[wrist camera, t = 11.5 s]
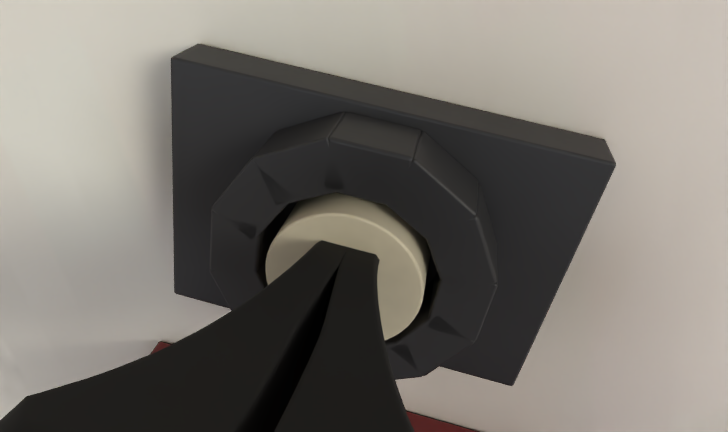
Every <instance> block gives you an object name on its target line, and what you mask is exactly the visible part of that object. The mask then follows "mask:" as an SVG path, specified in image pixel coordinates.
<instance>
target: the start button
mask: <svg viewBox="0 0 728 432" xmlns="http://www.w3.org/2000/svg"><path fill="white" fill-rule="evenodd" d="M321 240H323V241H327V242H331V243H334V244H338V245H342V246H346V247H350V248H354V249H357V250H361V251H365V252H369V253H373V254H376V255H377V257H378V258H379V260H380V261H379V265H378V274H377V288H378V302H379V310H380V317H381V324H382V330H383V335H384V340H387V339H389V338H392V337H394V336H396V335H397V334H399V333H400V332H402V331H403V330H404V329H405V328H406V327H408V326H409V325H410V323H411V322H412V321H413V320H414V319H415V317H416V315H417V314H418V312H419V310H420V307H421V305H422V301H423V296H424V290H425V284H426V278H427V272H428V266H429V261H430V255H431V252H430V249H429V246H428V243H427V241H426V239H425V238H424V237H423V236H422V235H420V234H419V233H418V232H417V231H416V230H415V229H413V228H412V227H411V226H410V225H409V224H408V223H406V222H405V221H404V220H403V219H402V218H401V217H399V216H398V215H397V214H396V213H395V212H394V211H392V210H391V209H390V208H389V207H388V206H387V205H384V204H380V203H376V202H372V201H368V200H364V199H360V198H356V197H352V196H348V195H344V194H340V193H336V192H335V193H331V194H326V195H322V196H318V197H314V198H310V199H305V200H301V201H298V202H297V203H296V205H295V207H294V208H293V210H292V211H291V213H290V214H289V216H288V218H287V219H286V221H285V222H284V224H283V226H282V227H281V229H280V230H279V232H278V233H277V235H276V237H275V238H274V240H273V242H272V243H271V245H270V247H269V250H268V253H267V258H266V278H267V283H268V285H269V284H270V283H271V282H273V281H274V280H275V279H276V278H278V277H279V276H280V275H281V274H283V273H284V272H285V271H286V270H288V269H289V268H290V267H291V266H292V265H293V264H295V263H296V262H297V261H298V260H299V259H300V258H301V257H302V256H303V255H305V254H306V253H307V252H308V251H309V250H310V249H311V248H312V247H313V246H314V245H315V244H316V243H317V242H319V241H321Z"/></svg>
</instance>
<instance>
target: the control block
mask: <svg viewBox="0 0 728 432" xmlns="http://www.w3.org/2000/svg"><path fill="white" fill-rule="evenodd" d="M171 96H172V162H173V228H174V292H175V293H176V294H179V295H183V296H187V297H190V298H194V299H198V300H201V301H205V302H208V303H212V304H216V305H219V306H223V307H227V308H230V309H231V311H232V310H234V309H235V308H237V307H238V306H240V305H241V304H243V303H244V302H246V301H247V300H248V299H250V298H251V297H253V296H254V295H256V294H257V293H258V292H260V291H261V290H262V289H264V288H265V287H266V286H268V283H267V278H266V258H267V253H268V250H269V247H270V245H271V243H272V242H273V240H274V238H275V237H276V235H277V233H278V232H279V230H280V229H281V227H282V226H283V224H284V222H285V221H286V219H287V218H288V216H289V214H290V213H291V211H292V210H293V208H294V207H295V205H296V203H297V202H298V201H301V200H305V199H310V198H314V197H318V196H322V195H326V194H331V193H335V192H336V193H340V194H344V195H348V196H352V197H356V198H360V199H364V200H368V201H372V202H376V203H380V204H384V205H387V206H388V207H389V208H390V209H391V210H392V211H394V212H395V213H396V214H397V215H398V216H399V217H401V218H402V219H403V220H404V221H405V222H406V223H408V224H409V225H410V226H411V227H412V228H413V229H415V230H416V231H417V232H418V233H419V234H420V235H422V236H423V237H424V238H425V239H426V241H427V243H428V246H429V249H430V252H431V255H430V261H429V266H428V272H427V278H426V284H425V290H424V296H423V301H422V305H421V307H420V310H419V312H418V314H417V315H416V317H415V319H414V320H413V321H412V322H411V323H410V325H409V326H408V327H406V328H405V329H404V330H403V331H402V332H400V333H399V334H397V335H396V336H394V337H392V338H389V339H387V340H385V344H386V349H387V353H388V357H389V361H390V365H391V368H392V372H393V375H394V378H395V380H396V379H405V378H415V377H422V376H425V375H427V374H428V373H430V372H431V371H433V370H434V369H436V368H437V367H439V366H440V367H444V368H448V369H451V370H455V371H459V372H462V373H466V374H469V375H473V376H477V377H480V378H484V379H488V380H491V381H495V382H498V383H502V384H506V385H509V386H513V385H514V383H515V380H516V378H517V376H518V374H519V372H520V370H521V368H522V365H523V363H524V361H525V359H526V357H527V355H528V353H529V350H530V348H531V346H532V344H533V342H534V340H535V338H536V336H537V333H538V331H539V329H540V327H541V325H542V323H543V321H544V318H545V316H546V314H547V312H548V310H549V308H550V306H551V303H552V301H553V299H554V297H555V295H556V293H557V291H558V288H559V286H560V284H561V282H562V280H563V278H564V276H565V273H566V271H567V269H568V267H569V265H570V263H571V261H572V258H573V256H574V254H575V252H576V250H577V248H578V246H579V243H580V241H581V239H582V237H583V235H584V233H585V231H586V228H587V226H588V224H589V222H590V220H591V218H592V216H593V213H594V211H595V209H596V207H597V205H598V203H599V201H600V198H601V196H602V194H603V192H604V190H605V188H606V186H607V183H608V181H609V179H610V177H611V175H612V173H613V171H614V168H615V166H616V163H615V161H614V158H613V156H612V154H611V152H610V150H609V147H608V145H607V143H606V141H605V140H604V139H600V138H596V137H592V136H587V135H583V134H579V133H575V132H570V131H566V130H562V129H558V128H553V127H549V126H545V125H541V124H537V123H532V122H528V121H524V120H520V119H515V118H511V117H507V116H503V115H498V114H494V113H490V112H486V111H482V110H477V109H473V108H469V107H465V106H460V105H456V104H452V103H448V102H444V101H439V100H435V99H431V98H427V97H422V96H418V95H414V94H410V93H405V92H401V91H397V90H393V89H389V88H384V87H380V86H376V85H372V84H367V83H363V82H359V81H355V80H350V79H346V78H342V77H338V76H334V75H329V74H325V73H321V72H317V71H312V70H308V69H304V68H300V67H295V66H291V65H287V64H283V63H279V62H274V61H270V60H266V59H262V58H257V57H253V56H249V55H245V54H240V53H236V52H232V51H228V50H224V49H219V48H215V47H211V46H207V45H202V44H197V45H195V46H193V47H191V48H189V49H187V50H185V51H183V52H181V53H179V54H177V55H175V56H173V57H172V58H171Z"/></svg>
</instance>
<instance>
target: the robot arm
mask: <svg viewBox="0 0 728 432" xmlns="http://www.w3.org/2000/svg"><path fill="white" fill-rule="evenodd" d="M379 261H380V260H379V258H378V257H377V255H376V254H373V253H369V252H365V251H361V250H357V249H354V248H350V247H346V246H342V245H338V244H334V243H331V242H327V241H323V240H321V241H319V242H317V243H316V244H315V245H314V246H313V247H312V248H311V249H310V250H309V251H308V252H307V253H306V254H305V255H303V256H302V257H301V258H300V259H299V260H298V261H297V262H296V263H295V264H293V265H292V266H291V267H290V268H289V269H288V270H286V271H285V272H284V273H283V274H281V275H280V276H279V277H278V278H276V279H275V280H274V281H273V282H271V283H270V284H269V285H268V286H266V287H265V288H264V289H262V290H261V291H260V292H258V293H257V294H256V295H254V296H253V297H251V298H250V299H248V300H247V301H246V302H244V303H243V304H241V305H240V306H238V307H237V308H235V309H234V310H232V311H231V312H229V313H228V314H226V315H225V316H223V317H221V318H220V319H218V320H216V321H215V322H213V323H211V324H210V325H208V326H206V327H204V328H203V329H201V330H199V331H197V332H195V333H193V334H192V335H190V336H188V337H186V338H184V339H182V340H180V341H178V342H176V343H174V344H172V345H170V346H168V347H166V348H164V349H161V350H159V351H157V352H155V353H153V354H150V355H148V356H146V357H143V358H141V359H138V360H136V361H133V362H131V363H128V364H126V365H123V366H121V367H118V368H115V369H113V370H110V371H107V372H105V373H102V374H99V375H96V376H93V377H90V378H87V379H84V380H81V381H77V382H74V383H71V384H67V385H64V386H61V387H57V388H54V389H51V390H48V391H44V392H41V393H37V394H34V395H30V396H27V397H25V398H24V399H23V400H22V401H21V402H20V403H19V404H18V405H17V406H16V407H15V408H14V409H12V410H11V411H10V412H9V413H8V414H7V415H6V416H5V417H3V418H2V419H1V420H0V432H415V431H414V429H413V427H412V425H411V422H410V420H409V418H408V415H407V413H406V410H405V407H404V405H403V402H402V399H401V396H400V394H399V391H398V388H397V385H396V381H395V378H394V375H393V372H392V368H391V365H390V361H389V357H388V353H387V349H386V344H385V340H384V335H383V330H382V324H381V317H380V310H379V302H378V288H377V274H378V265H379Z"/></svg>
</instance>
